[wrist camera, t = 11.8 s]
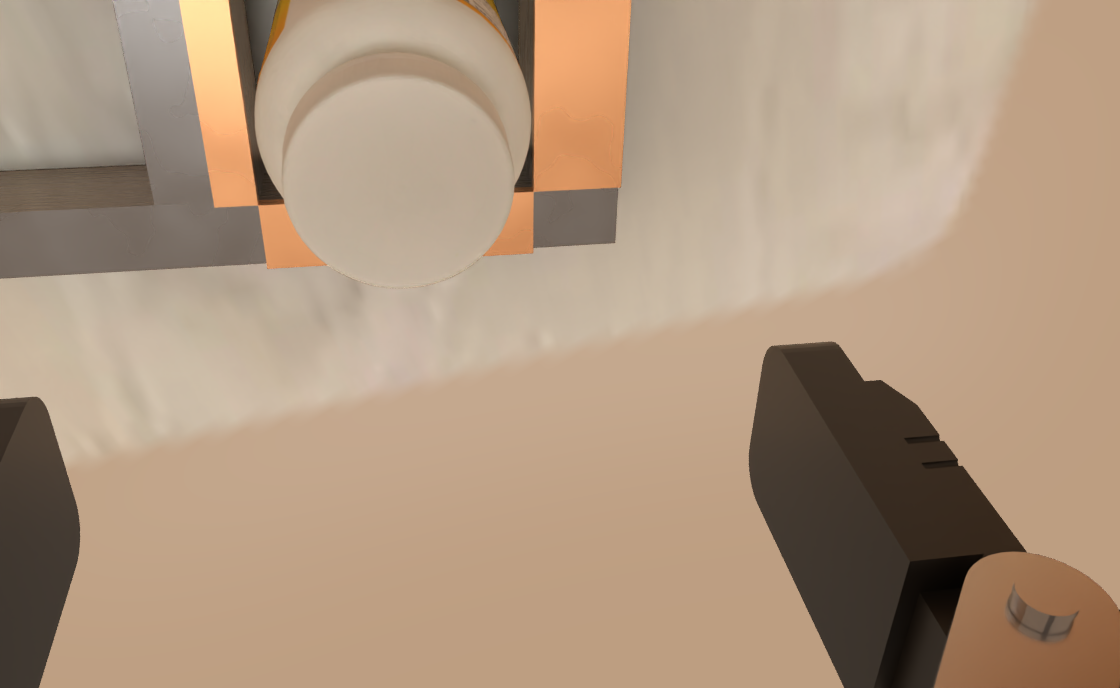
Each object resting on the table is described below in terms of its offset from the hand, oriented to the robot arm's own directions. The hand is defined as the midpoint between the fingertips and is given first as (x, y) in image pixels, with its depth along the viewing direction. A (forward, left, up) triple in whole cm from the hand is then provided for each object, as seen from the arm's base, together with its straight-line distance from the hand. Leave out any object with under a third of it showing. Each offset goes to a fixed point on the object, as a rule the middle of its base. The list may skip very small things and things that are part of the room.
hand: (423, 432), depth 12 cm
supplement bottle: (0, 0, -17) cm, 17 cm away
